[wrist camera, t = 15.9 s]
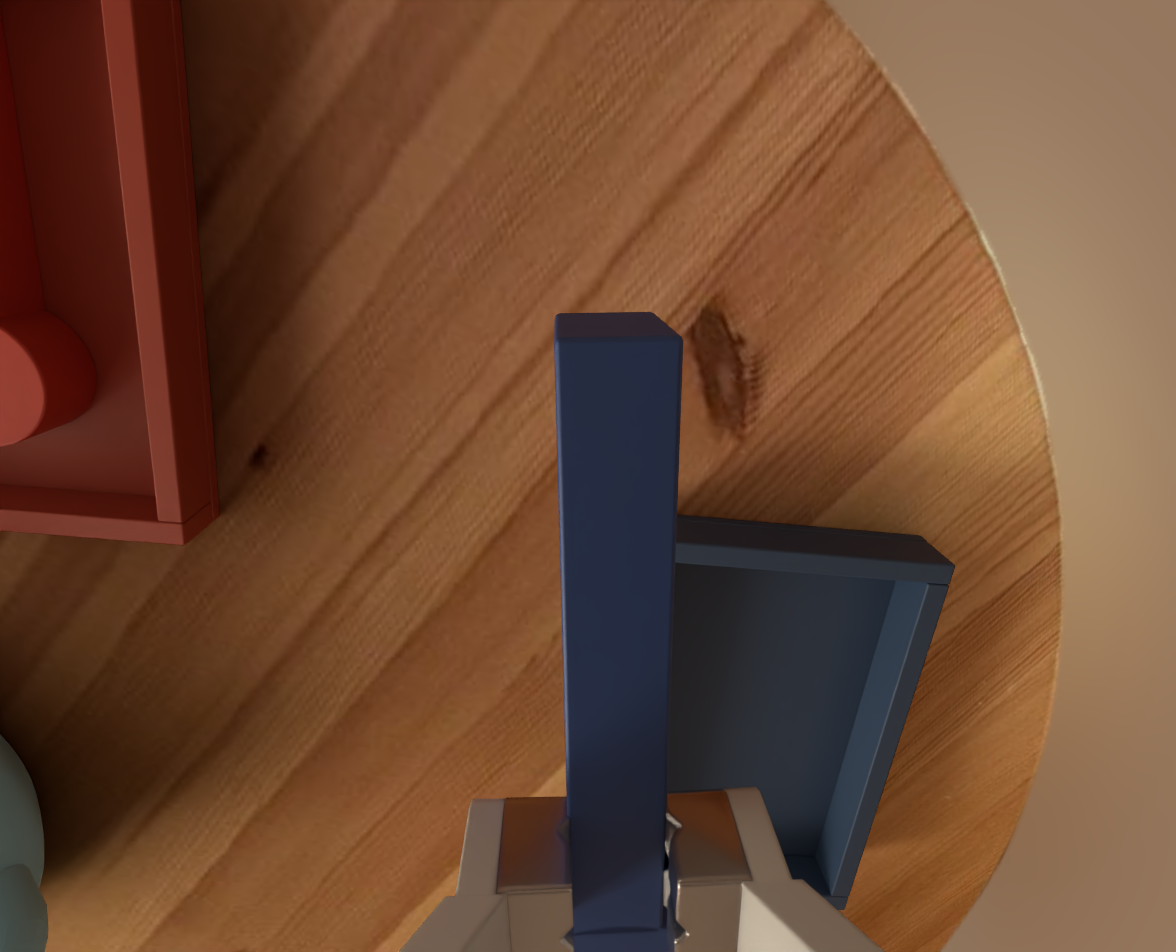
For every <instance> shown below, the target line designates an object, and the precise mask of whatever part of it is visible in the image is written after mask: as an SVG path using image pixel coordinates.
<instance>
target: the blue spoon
mask: <svg viewBox="0 0 1176 952" xmlns="http://www.w3.org/2000/svg"><path fill="white" fill-rule="evenodd" d="M554 351H555V388H556V424H557V460H558V497H559V533H560V569H561V606H562V642H563V678H564V715H565V751H566V787H567V815H568V817H570V827H571V852H572V877H573V911H574V952H670V951H669V944H668V938H667V909H666V907H665V906H664V905H663V904H662V891H663V871H664V865H665V850H664V826H665V813H666V809H667V781H668V753H669V725H670V697H671V669H672V640H673V612H674V584H675V556H676V528H677V500H678V472H679V444H680V416H681V388H682V360H683V340H682V337H681V336H680V335H679V334H677V333H676V332H675V331H674V330H673V329H672V328H670V327H669V326H668V325H667V324H666V323H664V322H663V321H662V320H661V319H660V318H659V317H657V316H656V315H655V314H654V313H652V312H619V313H559V314H557V315H556V317H555V335H554Z"/></svg>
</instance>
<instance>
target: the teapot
mask: <svg viewBox="0 0 1176 952" xmlns="http://www.w3.org/2000/svg"><path fill="white" fill-rule="evenodd" d="M43 870H44V833H43V825H42V819H41V813H40V808H39V804H38V799H37V794H36V791H35V788H34V786H33V783H32V780H31V778H30V776H29V774H28V772H27V770H26V768H25V766H24V764H23V763H22V761H21V760H20V758H19V757H18V755H17V754H16V753H15V751H14V750H13V748H12V747H11V746H10V745H9V744H8V743H7V741H6V740H5V739H4V738H3V737H2V736H1V735H0V952H45V947H46V943H47V939H48V917H47V904H46V902H45V900H44V898H43V896H42V894H41V892H40V890H39V888H40V884H41V879H42V875H43Z"/></svg>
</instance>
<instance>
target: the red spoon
mask: <svg viewBox="0 0 1176 952" xmlns="http://www.w3.org/2000/svg"><path fill="white" fill-rule="evenodd" d="M95 389H96V371H95V366H94V363H93V360H92V357H91V355H90V353H89V351H88V349H87V347H86V346H85V344H84V342H83V341H82V340H81V339H80V337H79V336H78V335H77V334H76V333H75V332H74V331H73V330H72V328H70V327H69V326H68V325H67V324H66V323H64V322H63V321H62V320H60V319H59V318H57V317H56V316H54V315H52V314H50V313H48V312H46V310H45V304H44V297H43V290H42V283H41V277H40V270H39V263H38V257H37V250H36V243H35V236H34V230H33V223H32V216H31V209H30V203H29V196H28V189H27V183H26V176H25V169H24V162H23V156H22V149H21V142H20V135H19V129H18V122H17V115H16V109H15V102H14V95H13V88H12V82H11V75H10V68H9V62H8V55H7V48H6V41H5V35H4V28H3V21H2V14H1V8H0V447H4V446H9V445H14V444H16V443H19V442H21V441H24V440H26V439H29V438H32V437H34V436H37V435H39V434H42V433H44V432H47V431H49V430H52V429H54V428H57V427H59V426H62V425H64V424H67V423H69V422H72V421H73V420H75V419H77V418H78V417H79V416H81V415H82V414H83V413H84V412H85V411H86V409H87V408H88V407H89V405H90V403H91V402H92V399H93V397H94V394H95Z"/></svg>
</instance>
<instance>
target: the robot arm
mask: <svg viewBox="0 0 1176 952" xmlns="http://www.w3.org/2000/svg"><path fill="white" fill-rule="evenodd" d="M664 850H665V865H664V871H663V891H662V904H663V905H664V906H665V907H666V909H667V938H668V944H669V951H670V952H885V951H884V950H883V949H881V948H880V947H879V946H878V945H877V944H876V943H875V942H873V941H872V940H871V939H870V938H869V937H868V936H867V935H865V934H864V933H863V932H862V931H861V930H860V929H859V928H857V927H856V926H855V925H854V924H853V923H852V922H851V921H849V920H848V919H847V918H846V917H845V916H844V915H843V914H841V913H840V912H839V911H838V910H837V909H836V908H835V907H833V906H832V905H831V904H830V903H829V902H828V901H827V900H826V899H824V898H823V897H822V896H821V895H820V894H819V893H818V892H816V891H815V890H814V889H813V888H812V887H811V886H810V885H808V884H807V883H806V882H805V881H804V880H803V879H794V880H792V877H791V874H790V872H789V869H788V866H787V864H786V861H785V858H784V855H783V853H782V850H781V847H780V845H779V842H778V839H777V836H776V834H775V831H774V828H773V825H772V823H771V820H770V817H769V815H768V812H767V809H766V806H765V804H764V801H763V798H762V796H761V793H760V791H759V790H758V789H757V788H756V787H740V788H724V789H723V790H722V789H705V790H687V791H669V792H667V809H666V813H665V826H664ZM399 952H574V911H573V877H572V852H571V827H570V817H568V815H567V797H516V798H506V799H472V802H471V804H470V807H469V811H468V818H467V824H466V831H465V837H464V843H463V850H462V856H461V863H460V869H459V876H458V882H457V889H456V895H455V896H449V897H445V898H444V899H443V900H442V901H441V902H440V903H439V905H438V906H437V907H436V908H435V909H434V911H433V912H432V913H431V914H430V915H429V917H428V918H427V919H426V920H425V921H424V922H423V924H422V925H421V926H420V927H419V928H418V930H417V931H416V932H415V933H414V934H413V935H412V937H411V938H410V939H409V940H408V941H407V943H406V944H405V945H404V946H403V947H402V949H401V950H400V951H399Z"/></svg>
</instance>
